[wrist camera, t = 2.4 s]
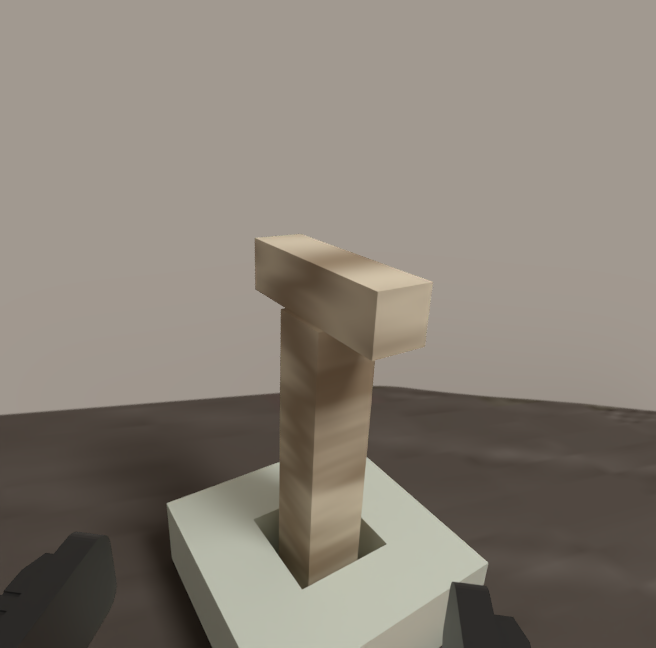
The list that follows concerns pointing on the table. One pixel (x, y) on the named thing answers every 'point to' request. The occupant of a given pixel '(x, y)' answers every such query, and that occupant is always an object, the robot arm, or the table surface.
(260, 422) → the table surface
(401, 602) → the socket block
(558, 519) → the table surface
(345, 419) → the t key
